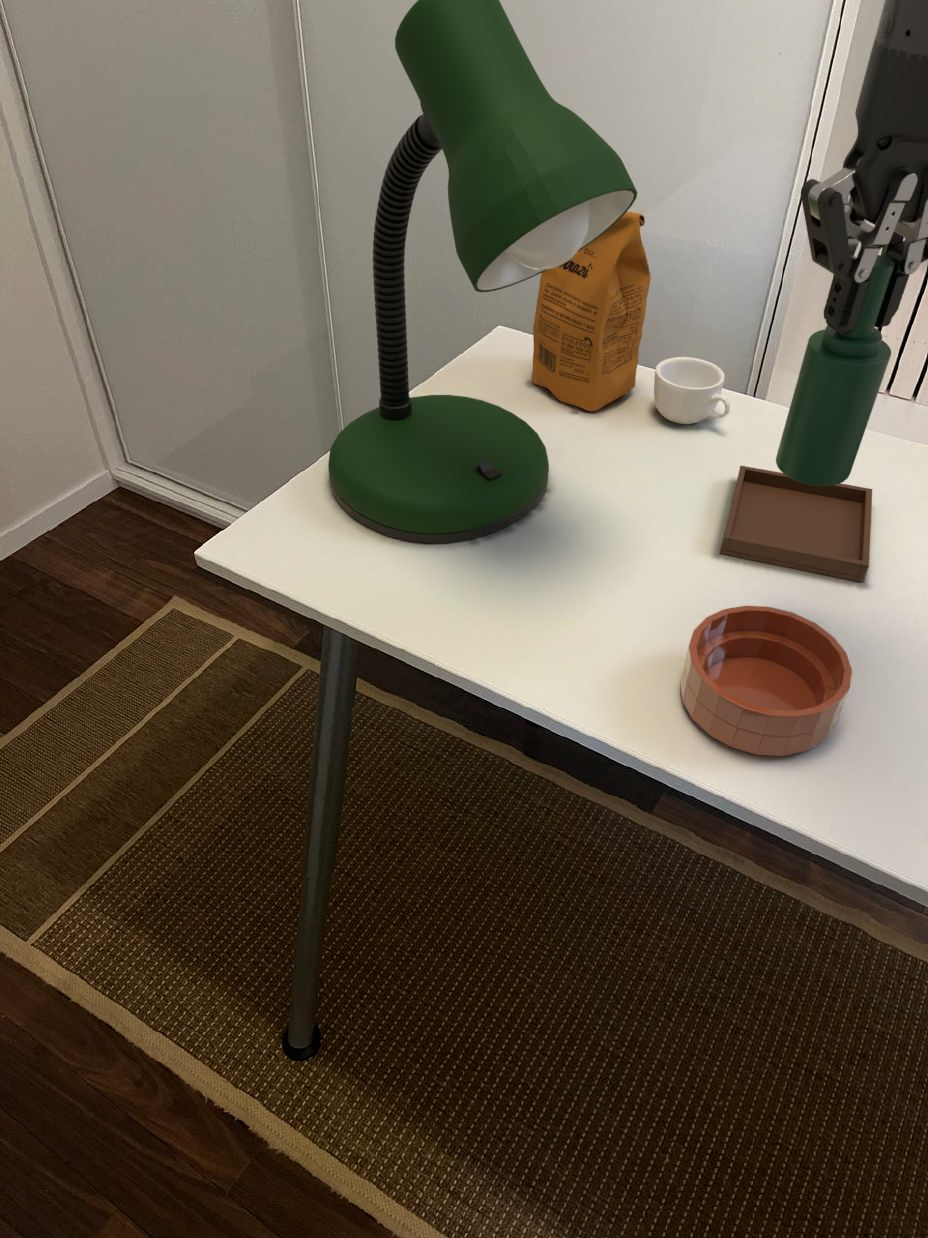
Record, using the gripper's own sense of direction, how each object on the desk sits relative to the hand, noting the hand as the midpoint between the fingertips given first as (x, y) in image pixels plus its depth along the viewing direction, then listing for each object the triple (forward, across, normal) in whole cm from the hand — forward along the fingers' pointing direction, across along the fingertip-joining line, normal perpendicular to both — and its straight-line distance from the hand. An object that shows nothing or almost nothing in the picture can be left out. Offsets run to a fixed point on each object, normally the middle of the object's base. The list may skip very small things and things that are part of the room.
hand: (856, 324), depth 65 cm
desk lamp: (+28, -18, +27) cm, 44 cm away
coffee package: (+29, +3, +44) cm, 53 cm away
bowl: (+28, -7, -8) cm, 30 cm away
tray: (+28, +10, +10) cm, 32 cm away
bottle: (+12, 0, 0) cm, 12 cm away
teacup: (+28, +12, +33) cm, 45 cm away
